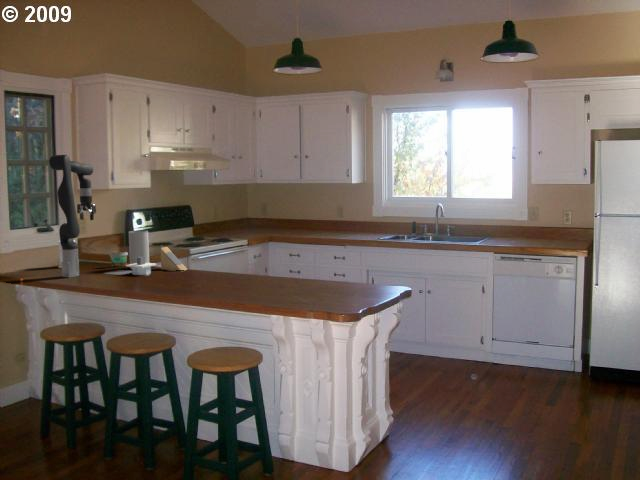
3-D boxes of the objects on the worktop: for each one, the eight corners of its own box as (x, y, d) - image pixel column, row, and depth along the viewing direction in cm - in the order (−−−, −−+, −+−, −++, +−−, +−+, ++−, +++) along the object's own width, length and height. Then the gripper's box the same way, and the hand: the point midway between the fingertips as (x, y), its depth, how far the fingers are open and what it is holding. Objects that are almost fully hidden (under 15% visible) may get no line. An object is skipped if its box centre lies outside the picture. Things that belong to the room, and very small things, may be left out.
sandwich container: (181, 271, 441) (181, 248, 440) (161, 270, 446) (160, 247, 444) (188, 269, 450) (187, 246, 448) (167, 268, 454) (167, 246, 453)
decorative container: (63, 265, 472) (62, 239, 470) (79, 265, 471) (78, 239, 469) (55, 268, 461) (53, 241, 459) (71, 268, 460) (70, 241, 458)
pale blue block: (142, 276, 422) (142, 267, 421) (128, 275, 427) (128, 266, 426) (154, 273, 432) (154, 265, 431) (140, 272, 437) (140, 264, 436)
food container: (109, 268, 458) (108, 253, 457) (109, 267, 464) (109, 252, 463) (128, 267, 461) (127, 252, 460) (128, 266, 467) (127, 251, 466)
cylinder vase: (143, 267, 462) (141, 230, 459) (153, 268, 453) (151, 231, 450) (126, 269, 453) (125, 231, 450) (136, 271, 444) (135, 232, 442)
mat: (121, 275, 425) (121, 274, 425) (102, 274, 432) (102, 273, 432) (139, 272, 439) (139, 271, 439) (120, 270, 446) (120, 269, 446)
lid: (142, 267, 420) (141, 259, 420) (126, 266, 426) (125, 257, 426) (156, 265, 432) (155, 256, 431) (140, 263, 438) (139, 255, 437)
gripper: (73, 195, 446) (74, 220, 448) (89, 195, 440) (90, 220, 442) (82, 194, 453) (83, 219, 455) (98, 195, 446) (99, 219, 448)
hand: (87, 219), depth 448 cm, fingers open, 8 cm apart
